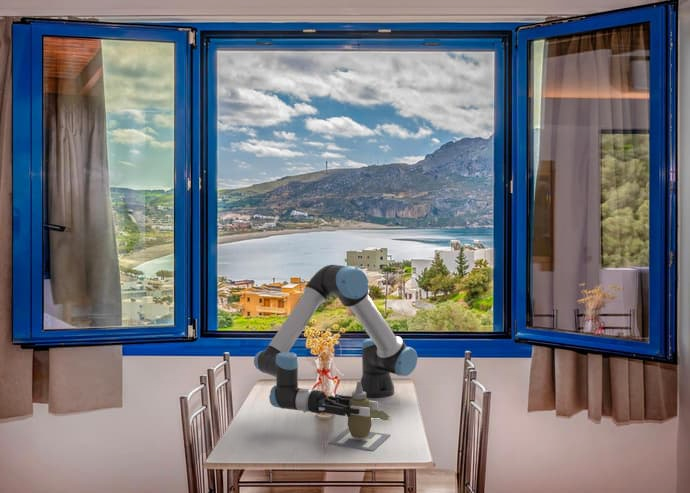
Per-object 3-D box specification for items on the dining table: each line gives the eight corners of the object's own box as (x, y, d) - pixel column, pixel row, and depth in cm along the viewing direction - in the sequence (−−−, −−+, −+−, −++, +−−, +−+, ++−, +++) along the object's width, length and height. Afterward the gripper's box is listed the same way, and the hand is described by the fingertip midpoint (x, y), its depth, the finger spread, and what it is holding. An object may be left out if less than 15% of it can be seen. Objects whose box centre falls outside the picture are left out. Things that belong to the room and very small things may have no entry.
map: (369, 428, 212) (369, 425, 212) (354, 412, 229) (354, 410, 229) (398, 425, 215) (398, 422, 215) (381, 409, 232) (381, 407, 232)
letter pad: (347, 429, 210) (347, 428, 210) (390, 435, 203) (390, 434, 203) (328, 443, 197) (328, 443, 197) (373, 451, 190) (373, 450, 190)
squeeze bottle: (366, 441, 195) (365, 386, 194) (343, 437, 198) (342, 383, 197) (375, 433, 202) (374, 380, 201) (353, 429, 205) (352, 377, 204)
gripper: (324, 403, 216) (384, 411, 206) (298, 420, 199) (361, 429, 189) (324, 383, 216) (384, 390, 206) (297, 397, 198) (361, 406, 188)
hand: (373, 409), depth 197 cm, fingers closed on squeeze bottle, 6 cm apart
